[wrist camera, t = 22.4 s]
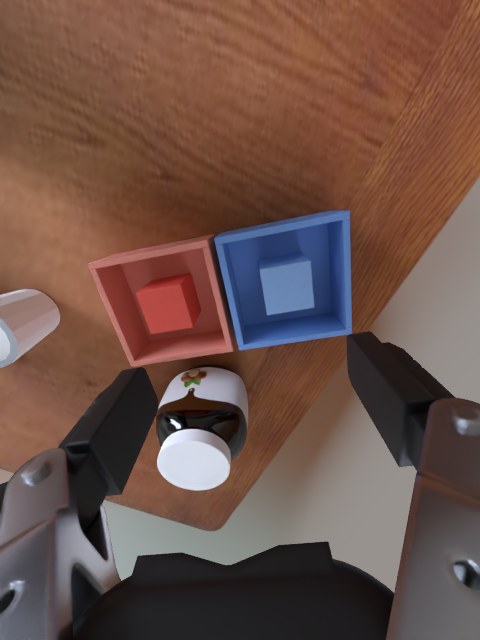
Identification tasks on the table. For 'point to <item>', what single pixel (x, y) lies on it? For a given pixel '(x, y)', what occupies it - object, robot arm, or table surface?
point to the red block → (169, 303)
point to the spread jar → (201, 426)
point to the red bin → (155, 263)
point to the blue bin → (327, 277)
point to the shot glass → (24, 322)
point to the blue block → (286, 283)
